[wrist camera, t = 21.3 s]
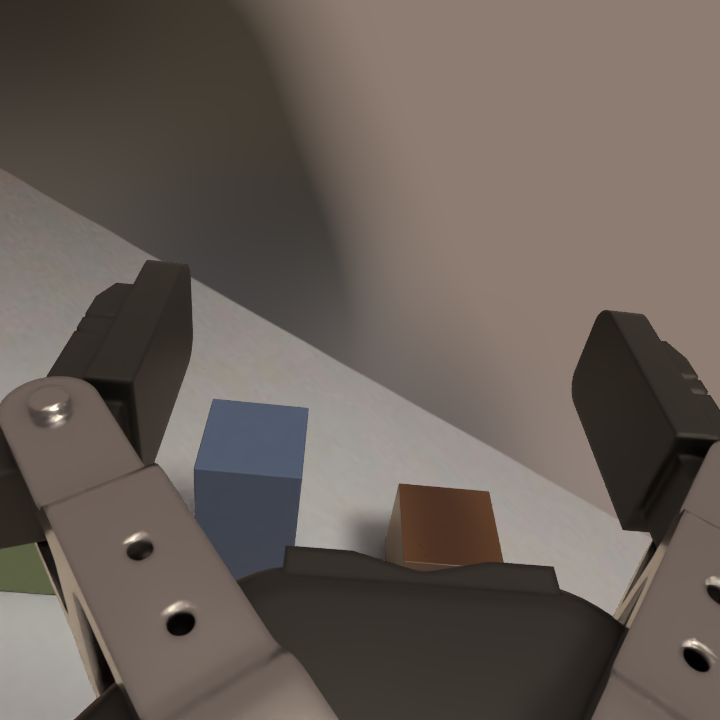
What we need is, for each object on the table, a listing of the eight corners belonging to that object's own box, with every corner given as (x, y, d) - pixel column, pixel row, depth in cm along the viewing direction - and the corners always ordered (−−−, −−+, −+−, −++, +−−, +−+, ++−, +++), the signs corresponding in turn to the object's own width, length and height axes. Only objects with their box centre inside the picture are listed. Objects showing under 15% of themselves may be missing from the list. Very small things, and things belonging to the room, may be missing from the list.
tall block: (294, 537, 38) (308, 407, 32) (287, 609, 34) (301, 478, 28) (214, 530, 37) (212, 398, 31) (198, 603, 34) (193, 468, 28)
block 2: (468, 548, 39) (489, 491, 36) (480, 626, 35) (505, 569, 32) (384, 541, 38) (398, 483, 35) (387, 619, 34) (403, 561, 31)
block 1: (123, 519, 37) (115, 457, 34) (95, 597, 33) (82, 535, 30) (33, 512, 37) (16, 448, 34) (-7, 590, 33) (-30, 526, 30)
